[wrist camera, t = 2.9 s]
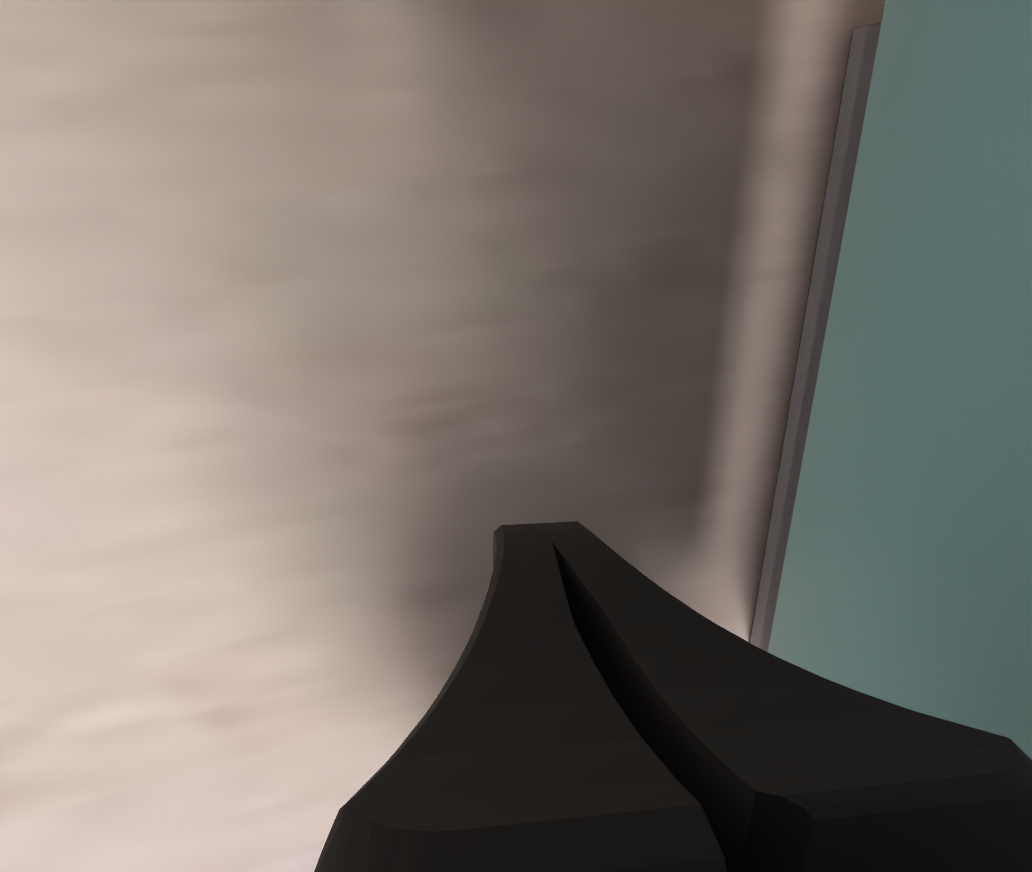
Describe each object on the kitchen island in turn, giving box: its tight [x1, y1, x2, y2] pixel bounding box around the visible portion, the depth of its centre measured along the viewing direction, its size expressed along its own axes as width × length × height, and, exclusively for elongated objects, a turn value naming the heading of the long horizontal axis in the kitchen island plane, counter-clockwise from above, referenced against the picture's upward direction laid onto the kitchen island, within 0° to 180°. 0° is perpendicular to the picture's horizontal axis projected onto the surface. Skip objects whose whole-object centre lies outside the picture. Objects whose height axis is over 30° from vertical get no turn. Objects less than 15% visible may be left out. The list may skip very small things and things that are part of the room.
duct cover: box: [768, 0, 1032, 760], centre depth 12 cm, size 18×11×1 cm
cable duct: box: [750, 22, 882, 652], centre depth 20 cm, size 18×10×4 cm, turn 179°
